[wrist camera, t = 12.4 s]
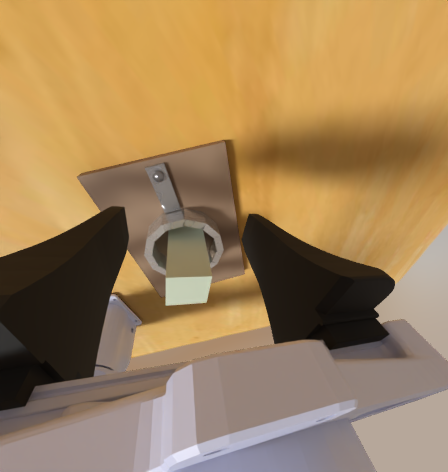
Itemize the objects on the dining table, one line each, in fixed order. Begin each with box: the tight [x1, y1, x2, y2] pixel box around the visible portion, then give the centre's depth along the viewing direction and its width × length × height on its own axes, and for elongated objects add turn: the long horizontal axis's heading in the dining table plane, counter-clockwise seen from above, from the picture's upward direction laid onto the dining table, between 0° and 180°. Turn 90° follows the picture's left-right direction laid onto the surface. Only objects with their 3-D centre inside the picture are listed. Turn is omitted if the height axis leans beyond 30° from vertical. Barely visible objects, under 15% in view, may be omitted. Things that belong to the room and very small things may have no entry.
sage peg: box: [166, 226, 212, 306], centre depth 20 cm, size 4×4×8 cm
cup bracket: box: [77, 140, 245, 297], centre depth 23 cm, size 20×14×4 cm
